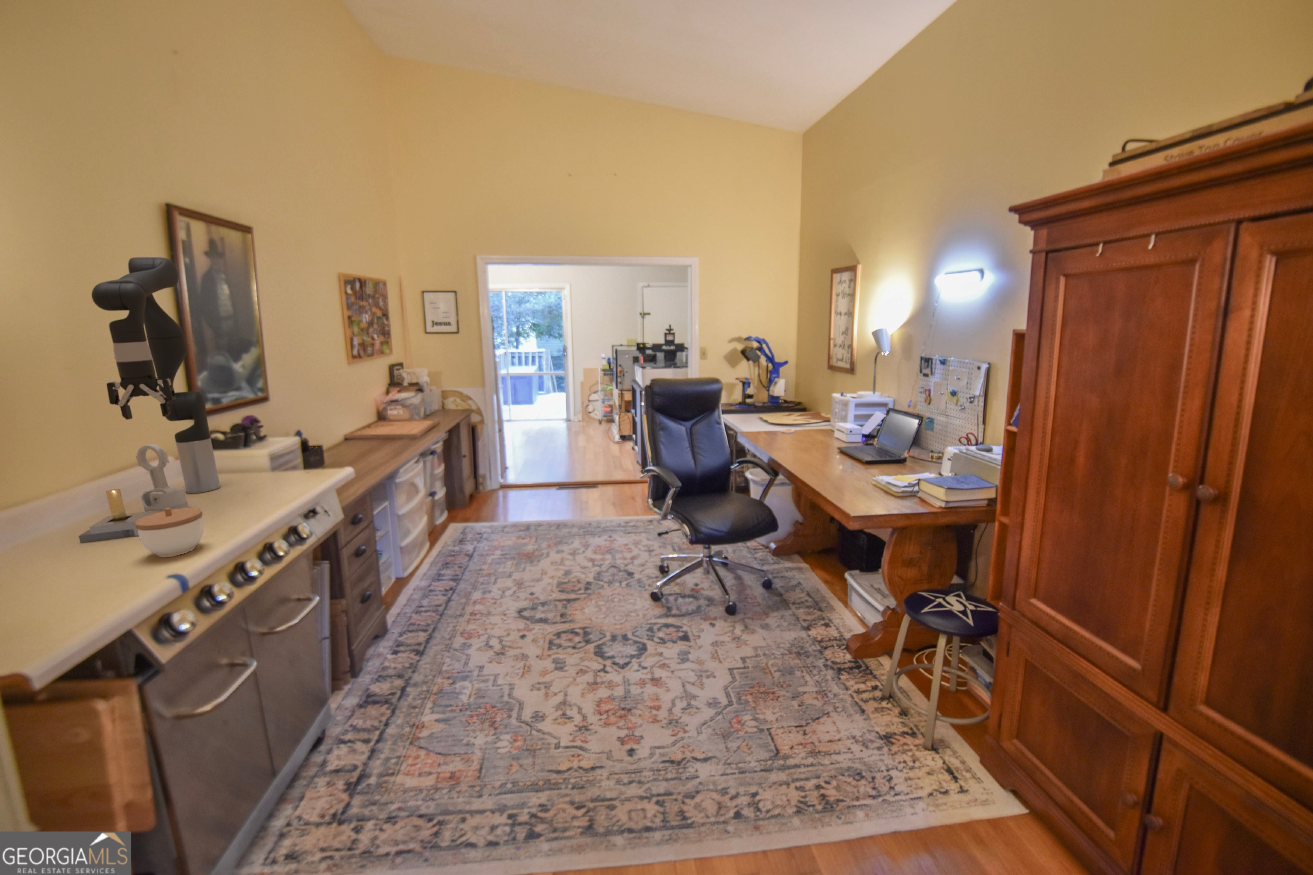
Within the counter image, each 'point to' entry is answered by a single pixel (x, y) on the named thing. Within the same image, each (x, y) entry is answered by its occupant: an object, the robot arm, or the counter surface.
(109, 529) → the gray slotted plate
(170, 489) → the engine component
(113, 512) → the brass pin
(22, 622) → the counter surface
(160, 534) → the lidded bowl
